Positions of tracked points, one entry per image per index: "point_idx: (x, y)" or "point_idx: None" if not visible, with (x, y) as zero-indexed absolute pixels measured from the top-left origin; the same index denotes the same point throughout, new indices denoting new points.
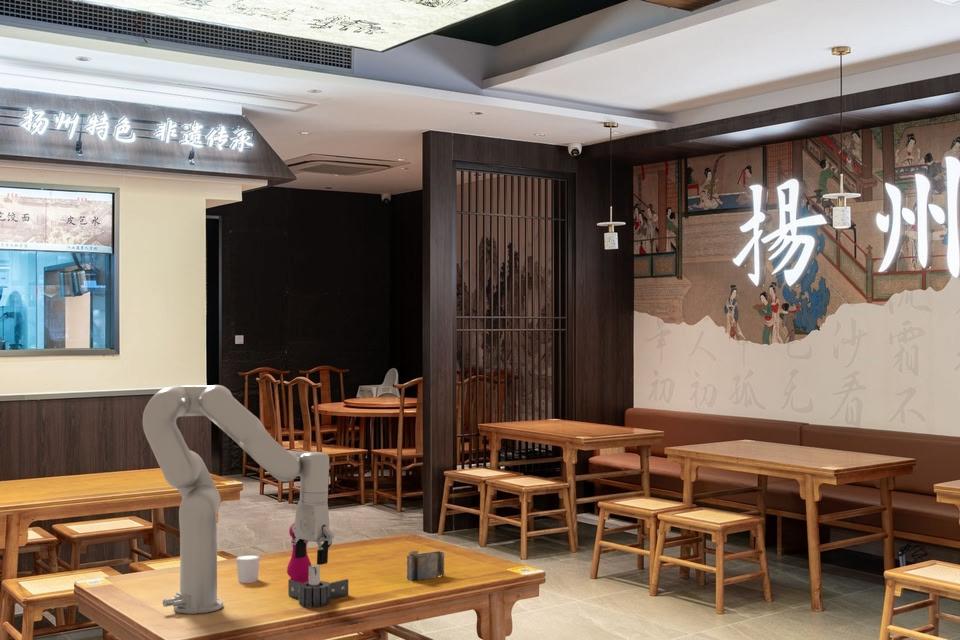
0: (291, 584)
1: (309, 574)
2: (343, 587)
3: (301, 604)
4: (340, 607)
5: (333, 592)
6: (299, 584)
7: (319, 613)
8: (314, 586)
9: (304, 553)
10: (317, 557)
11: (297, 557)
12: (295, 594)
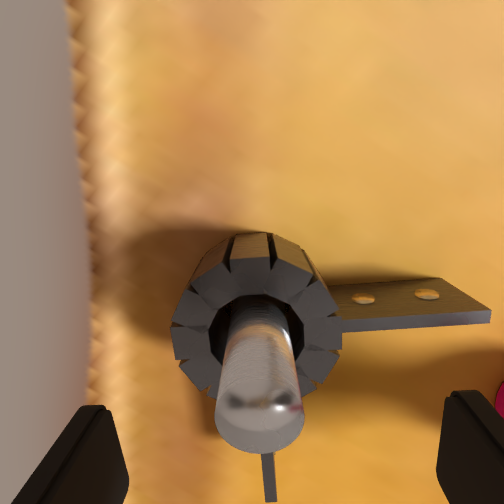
0: (449, 303)
1: (260, 344)
2: None
3: (257, 234)
4: (130, 333)
5: None
6: (321, 282)
7: (100, 225)
8: (233, 322)
9: (456, 501)
10: (54, 465)
11: (449, 403)
12: (393, 287)
